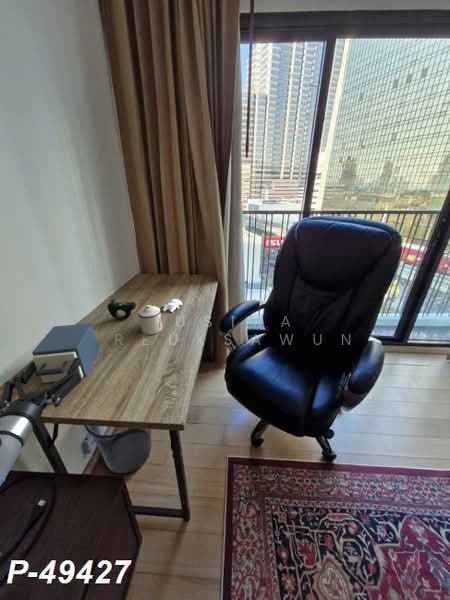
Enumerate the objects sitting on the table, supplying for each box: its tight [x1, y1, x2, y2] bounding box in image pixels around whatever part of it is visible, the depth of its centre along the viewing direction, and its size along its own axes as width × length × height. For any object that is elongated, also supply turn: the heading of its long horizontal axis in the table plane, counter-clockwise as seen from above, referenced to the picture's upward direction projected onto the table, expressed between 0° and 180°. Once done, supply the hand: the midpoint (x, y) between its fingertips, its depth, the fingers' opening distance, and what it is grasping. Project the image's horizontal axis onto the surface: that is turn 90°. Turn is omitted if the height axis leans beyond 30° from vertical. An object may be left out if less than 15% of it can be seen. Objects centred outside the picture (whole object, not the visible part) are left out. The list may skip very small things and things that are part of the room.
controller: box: [106, 298, 137, 321], centre depth 114 cm, size 4×12×10 cm, turn 96°
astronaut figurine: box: [162, 298, 183, 313], centre depth 126 cm, size 9×12×3 cm
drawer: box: [32, 350, 84, 384], centre depth 82 cm, size 19×12×10 cm, turn 9°
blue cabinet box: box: [31, 322, 100, 378], centre depth 86 cm, size 15×13×12 cm
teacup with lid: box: [137, 304, 163, 336], centre depth 107 cm, size 12×9×12 cm
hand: (56, 363), depth 77 cm, fingers closed on drawer, 12 cm apart
